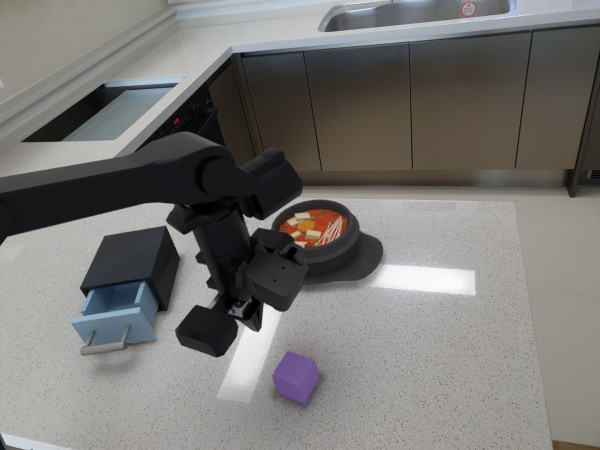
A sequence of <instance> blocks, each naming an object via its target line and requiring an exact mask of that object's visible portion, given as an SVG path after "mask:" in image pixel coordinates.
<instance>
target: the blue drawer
mask: <svg viewBox="0 0 600 450" xmlns="http://www.w3.org/2000/svg"><path fill="white" fill-rule="evenodd" d="M158 305H159V302H158V300H157V298H156V296H155V294H154V292H153V291H152V289H151V287H150V285H149V283H148V281H142V282H136V283H130V284H123V285H117V286H111V287H105V288H98V289H92V290H90V292H89V294H88V296H87V298H86V297H85V300H84V303H83V305H82V308H81V310H80V313H81V316H73V317H72V319H71V321H70V324H71V326H72V327H73V328H74V330H75V331H76V333H77V334H78V335H79V337H80V338H81V340H82V341H83V343H84V346H81V347H80V349H79V354H80V356H82V357H85V356H91V355H97V354H105V353H112V352H118V351H123V350H124V351H125V350H127V349H128V344H133V343H139V342H146V341H153V340H155V337H156V332H155V330H154V329H153V327H154V323H155V320H156V317H157V313H158V312H157V309H158Z"/></svg>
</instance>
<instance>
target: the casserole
mask: <svg viewBox="0 0 600 450" xmlns="http://www.w3.org/2000/svg"><path fill="white" fill-rule="evenodd" d="M360 229H361V226H360V222H359V220H358V218H357V216H356V215H355V214H353V213H352V212H351V210H350V209H349V208H348V207H347V206H346V205H344V204H342V203H341V202H338V201H335V200H332V199H324V198H323V199H322V198H321V199H320V198H319V199H309V200H304V201H299V202H297V203H294V204H292V205H290V206H288V207H287V208H285V209H283V210H282V211H281V212H279V213H278V215H276V217H275V218H274V219H273V221H272V223H271V227H270V230H275V231H281V232H287V233H289V234H290V235H291V236H292V237H293V238H294V241H295V243H296V244H298V245H300V246H302V248H303V251H304V253H305V256H306V261H305V263H307V266H308V267H309V270H308V271H307V273H306V275H305V276H304V278H303V283H302V286H317V285H323V284H330V283H336V282H358V281H361V280H363V279H366V278H367V277H368V276H370V275H371V274H372V273H373V272H374V271H376V269H377V268H378V266H379V264H380V263H381V262H382V259H383V255H384V246H383V243H382V241H381V240H380V239H379V238H377V237H375V236H373V235H370V234H368V233H365V232H363V231H361V230H360Z"/></svg>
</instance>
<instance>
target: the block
mask: <svg viewBox="0 0 600 450" xmlns="http://www.w3.org/2000/svg"><path fill="white" fill-rule="evenodd" d="M271 378H272V380H273V383H274V386H275V390H276V392H277V394H278V395H279V396H282V397H284V398H287V399H290V400H292V401H295V402H297V403H299V404H303V405H306V404H307V402H308V401H309V398H310V397H311V395H312V393H313V391H314V390H315V388H316V386H317V384H318V382H319V380H320V374H319V371H318V367H317V363H316V359H314V358H311V357H309V356H306V355H302V354H299V353H297V352H294V351H291V350H288V349H287V350H286V352H285V353H284V355H283V357H282V358H281V360H280V361H279V363H278V365H277V366H276V368H275V369H274V371H273V373H272V374H271Z"/></svg>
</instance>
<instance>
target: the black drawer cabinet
mask: <svg viewBox="0 0 600 450" xmlns="http://www.w3.org/2000/svg"><path fill="white" fill-rule="evenodd" d="M173 240H174V239H173V238H172V235H171V234H170V231H169V229H168V226H167V225H161V226H154V227H148V228H142V229H136V230H130V231H125V232H117V233H113V234H107V235H103V237H102V240H101V241H100V244H99V246H98V248H97V250H96V253H95V254H94V257H93V259H92V261H91V262H90V265H89V267H88V270H87V271H86V273H85V275H84V277H83V280H82V282H81V283H80V286H79V290H80V291H81V293H82V294H83V296H84V297H85V299H86V298H87V296H88V294H89V292H90V290H92V289H98V288H105V287H111V286H117V285H123V284H130V283H136V282H142V281H148V283H149V285H150V287H151V289H152V291H153V292H154V294H155V296H156V298H157V300H158V302H159V305H158V309H157V313H161V312H167V311H168V310H169V305H170V301H171V297H172V294H173V289H174V285H175V280H176V278H177V277H176V276H177V272H178V269H179V265H180V261H181V256H180V254H179V251H178V249H177V247H176V245H175V243H174V241H173Z"/></svg>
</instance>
